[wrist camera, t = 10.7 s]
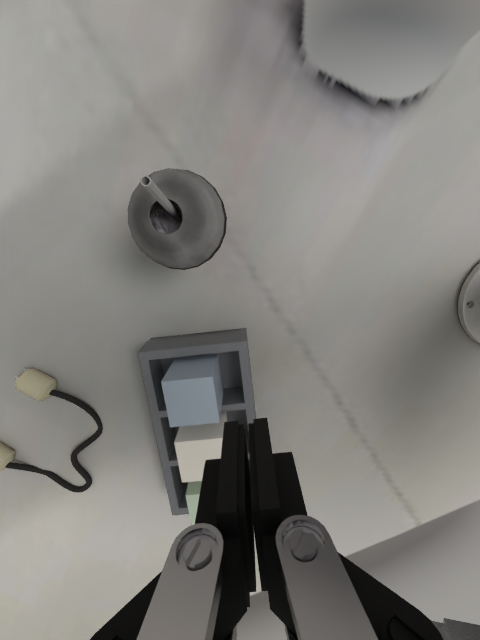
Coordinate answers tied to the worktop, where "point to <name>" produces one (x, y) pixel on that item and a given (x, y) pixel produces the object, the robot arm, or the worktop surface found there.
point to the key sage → (193, 499)
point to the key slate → (193, 390)
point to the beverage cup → (177, 218)
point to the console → (234, 382)
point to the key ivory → (198, 447)
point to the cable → (41, 389)
